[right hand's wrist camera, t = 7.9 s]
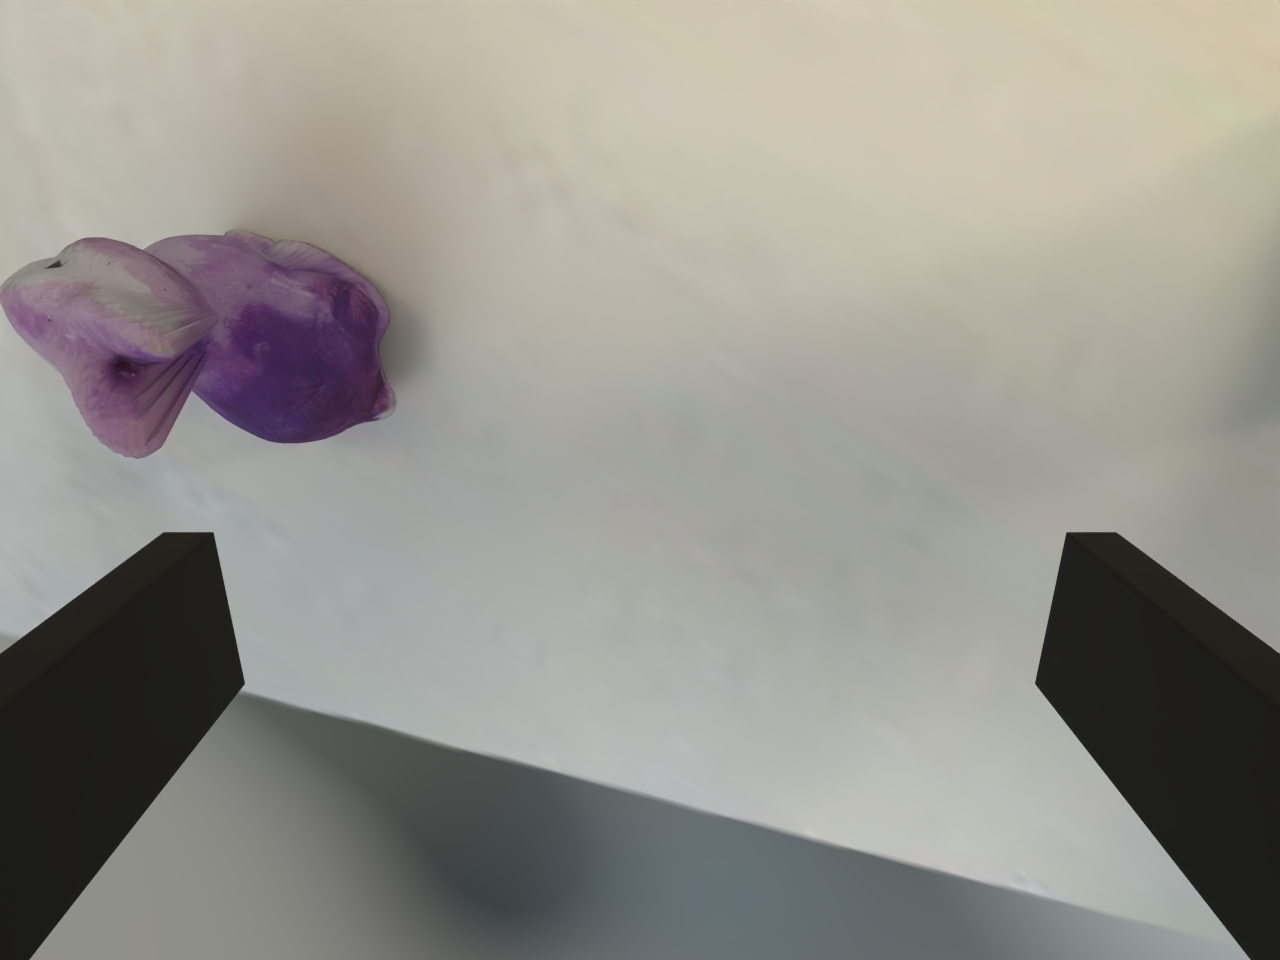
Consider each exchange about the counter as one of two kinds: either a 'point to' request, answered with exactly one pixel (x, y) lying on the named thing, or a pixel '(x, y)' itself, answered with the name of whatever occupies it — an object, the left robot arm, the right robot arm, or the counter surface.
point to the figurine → (206, 336)
